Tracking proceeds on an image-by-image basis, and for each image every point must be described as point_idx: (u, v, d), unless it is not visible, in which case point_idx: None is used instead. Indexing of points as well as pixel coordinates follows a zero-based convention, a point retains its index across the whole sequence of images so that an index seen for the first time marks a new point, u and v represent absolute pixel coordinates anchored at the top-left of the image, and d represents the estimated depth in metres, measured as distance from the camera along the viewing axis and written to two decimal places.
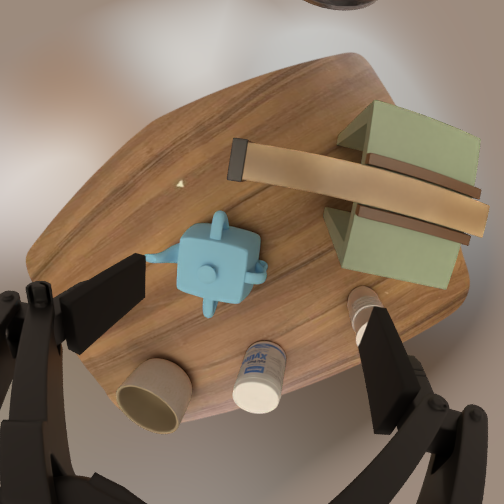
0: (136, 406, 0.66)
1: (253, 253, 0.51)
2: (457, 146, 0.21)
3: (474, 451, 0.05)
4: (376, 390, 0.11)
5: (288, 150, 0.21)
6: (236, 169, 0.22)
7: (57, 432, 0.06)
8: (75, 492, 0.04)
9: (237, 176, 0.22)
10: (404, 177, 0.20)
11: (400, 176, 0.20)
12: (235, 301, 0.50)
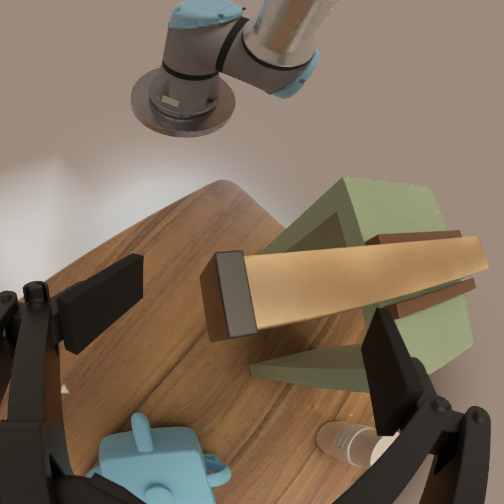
0: None
1: (200, 450, 0.29)
2: (421, 202, 0.23)
3: (477, 453, 0.05)
4: (379, 392, 0.11)
5: (310, 253, 0.13)
6: (241, 312, 0.11)
7: (55, 432, 0.06)
8: (75, 492, 0.04)
9: (248, 325, 0.11)
10: (427, 241, 0.17)
11: (425, 242, 0.16)
12: None
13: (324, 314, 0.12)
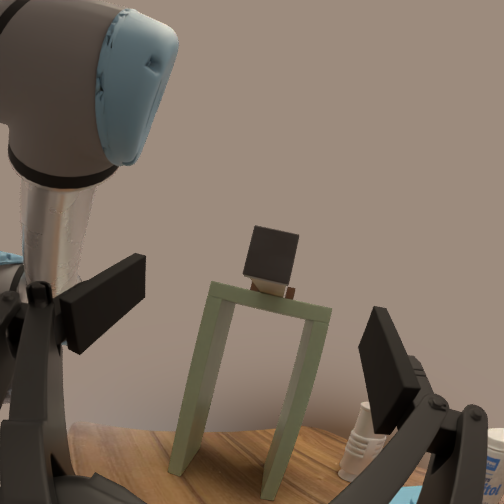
0: None
1: None
2: None
3: (474, 451, 0.05)
4: (376, 390, 0.11)
5: None
6: None
7: (57, 432, 0.06)
8: (75, 492, 0.04)
9: None
10: None
11: None
12: None
13: None
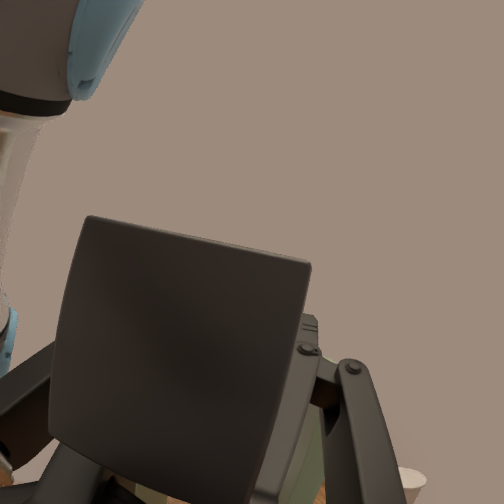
0: None
1: None
2: None
3: (364, 406, 0.08)
4: None
5: None
6: None
7: None
8: None
9: None
10: None
11: None
12: None
13: None
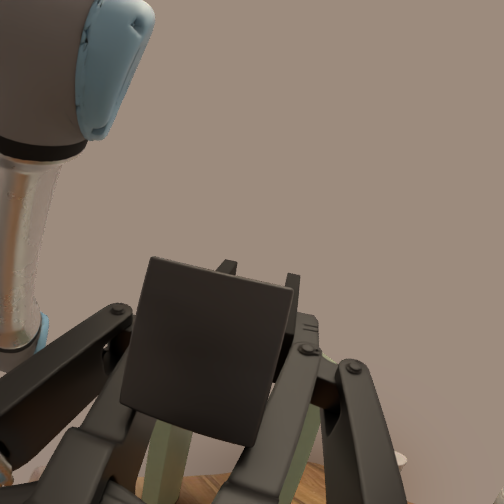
0: None
1: None
2: None
3: (364, 406, 0.08)
4: None
5: None
6: None
7: (132, 452, 0.06)
8: None
9: None
10: None
11: None
12: None
13: None
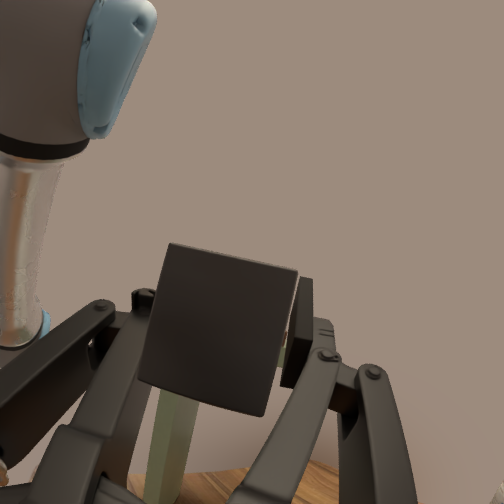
0: None
1: None
2: None
3: (382, 411, 0.07)
4: (287, 348, 0.13)
5: None
6: None
7: (121, 448, 0.06)
8: None
9: None
10: None
11: None
12: None
13: None
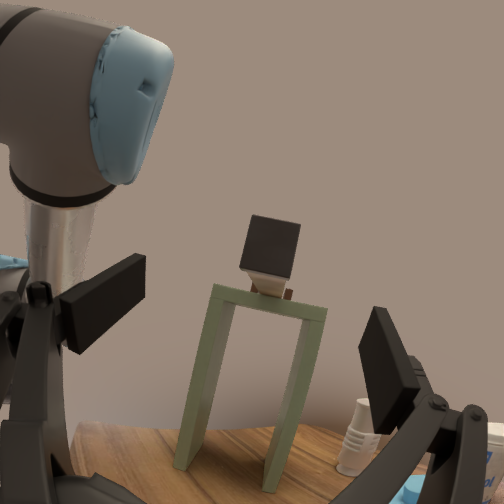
0: None
1: None
2: None
3: (474, 451, 0.05)
4: (376, 390, 0.11)
5: None
6: None
7: (57, 432, 0.06)
8: (75, 492, 0.04)
9: None
10: None
11: None
12: None
13: None
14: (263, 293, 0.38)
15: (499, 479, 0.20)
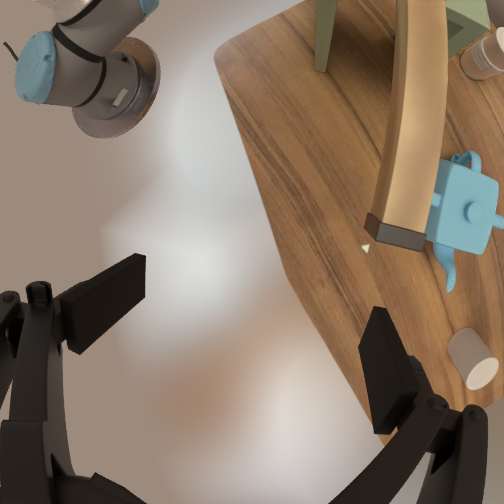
0: None
1: (451, 161, 0.35)
2: None
3: (474, 451, 0.05)
4: (376, 390, 0.11)
5: (395, 171, 0.15)
6: (413, 239, 0.16)
7: (57, 432, 0.06)
8: (75, 492, 0.04)
9: (421, 238, 0.16)
10: (409, 35, 0.12)
11: (409, 40, 0.13)
12: (497, 187, 0.32)
13: (434, 183, 0.15)
14: None
15: None
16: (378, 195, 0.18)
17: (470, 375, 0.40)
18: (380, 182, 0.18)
